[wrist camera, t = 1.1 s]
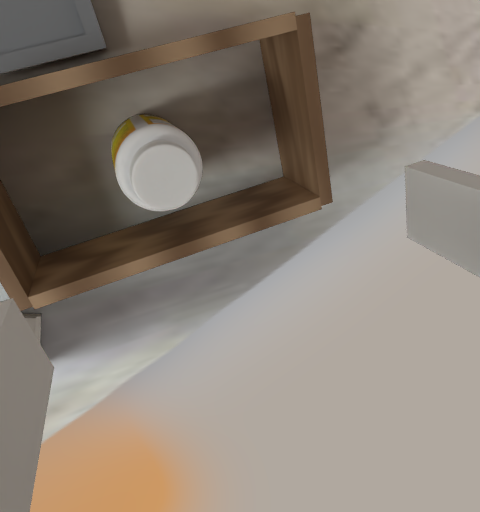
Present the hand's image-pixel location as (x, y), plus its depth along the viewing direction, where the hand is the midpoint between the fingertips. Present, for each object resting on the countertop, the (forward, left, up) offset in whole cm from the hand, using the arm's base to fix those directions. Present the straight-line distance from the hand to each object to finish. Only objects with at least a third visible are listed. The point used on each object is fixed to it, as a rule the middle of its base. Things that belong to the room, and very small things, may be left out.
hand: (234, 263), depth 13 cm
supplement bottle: (0, 0, -23) cm, 23 cm away
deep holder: (0, 0, -22) cm, 22 cm away
